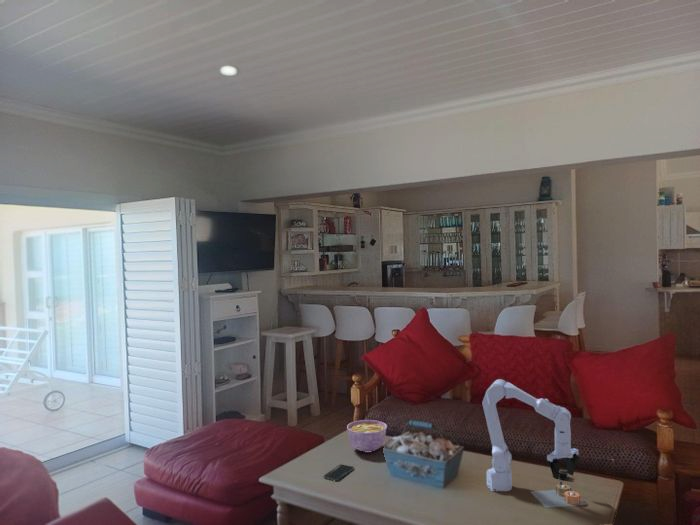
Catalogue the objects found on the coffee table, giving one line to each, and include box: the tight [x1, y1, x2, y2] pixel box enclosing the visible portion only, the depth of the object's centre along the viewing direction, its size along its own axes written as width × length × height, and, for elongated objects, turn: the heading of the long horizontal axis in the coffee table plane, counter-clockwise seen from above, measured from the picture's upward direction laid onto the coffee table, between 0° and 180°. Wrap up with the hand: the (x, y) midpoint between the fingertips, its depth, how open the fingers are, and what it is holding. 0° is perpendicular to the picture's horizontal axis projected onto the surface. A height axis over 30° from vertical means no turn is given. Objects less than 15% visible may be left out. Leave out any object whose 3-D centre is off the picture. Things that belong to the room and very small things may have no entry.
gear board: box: [530, 485, 587, 509], centre depth 198 cm, size 16×13×4 cm
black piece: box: [558, 469, 569, 481], centre depth 215 cm, size 12×7×5 cm, turn 151°
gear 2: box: [564, 490, 581, 504], centre depth 195 cm, size 6×6×3 cm
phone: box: [323, 464, 355, 482], centre depth 229 cm, size 8×1×15 cm
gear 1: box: [555, 480, 572, 496], centre depth 201 cm, size 6×6×4 cm
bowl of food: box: [346, 419, 388, 452], centre depth 257 cm, size 20×20×12 cm
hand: (563, 476), depth 198 cm, fingers open, 7 cm apart
